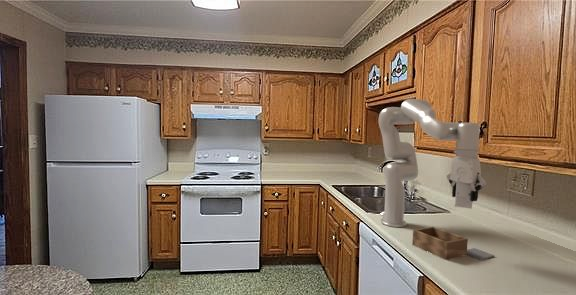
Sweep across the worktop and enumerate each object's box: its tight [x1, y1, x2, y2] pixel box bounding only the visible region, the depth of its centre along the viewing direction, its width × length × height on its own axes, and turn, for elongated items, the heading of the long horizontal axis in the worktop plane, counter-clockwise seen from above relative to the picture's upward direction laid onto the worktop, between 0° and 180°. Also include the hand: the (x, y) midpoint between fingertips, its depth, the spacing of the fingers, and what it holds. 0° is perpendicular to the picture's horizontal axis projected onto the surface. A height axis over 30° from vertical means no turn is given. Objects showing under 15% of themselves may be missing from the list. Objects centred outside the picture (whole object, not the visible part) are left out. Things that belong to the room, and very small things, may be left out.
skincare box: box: [454, 177, 473, 209], centre depth 123 cm, size 6×4×12 cm
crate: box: [412, 226, 469, 261], centre depth 127 cm, size 16×12×6 cm
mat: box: [466, 247, 495, 261], centre depth 124 cm, size 8×8×1 cm
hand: (464, 198), depth 124 cm, fingers closed on skincare box, 7 cm apart
